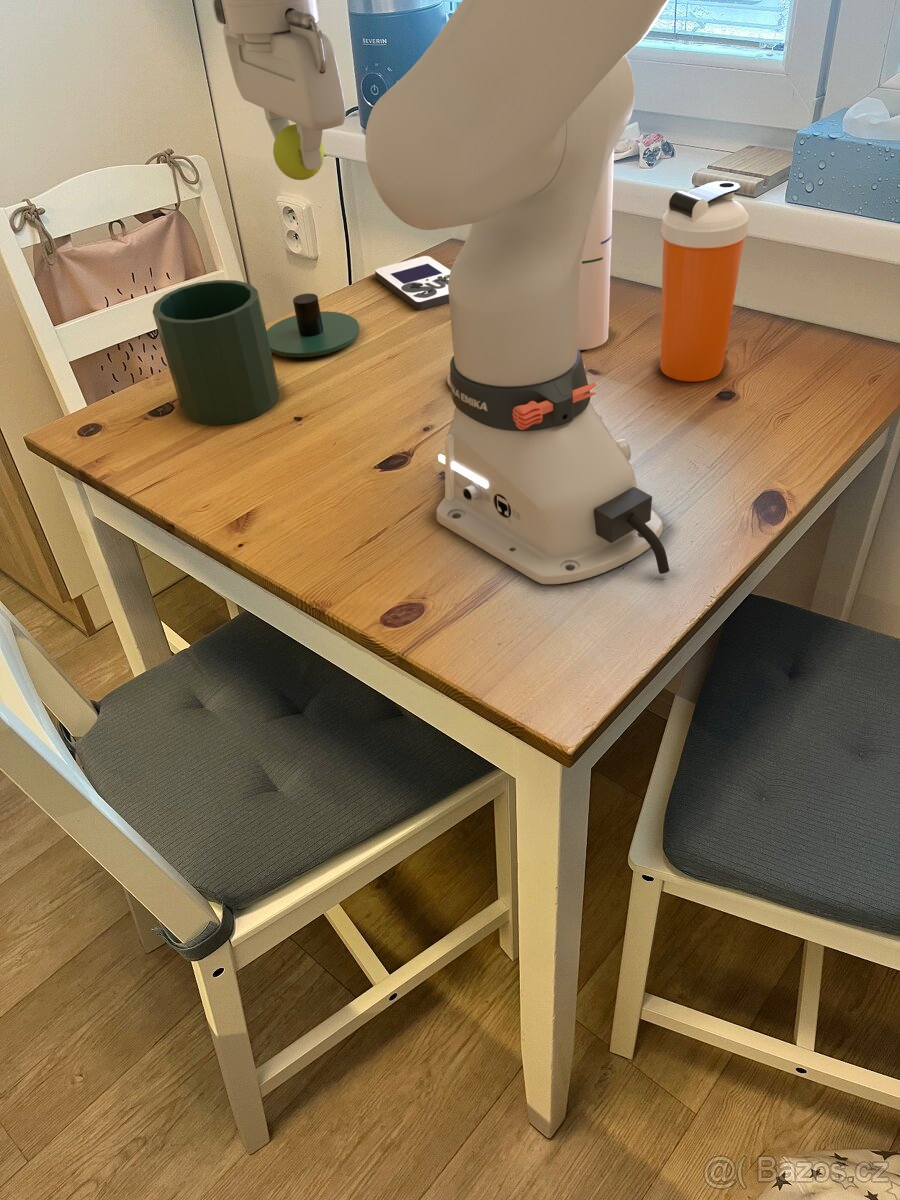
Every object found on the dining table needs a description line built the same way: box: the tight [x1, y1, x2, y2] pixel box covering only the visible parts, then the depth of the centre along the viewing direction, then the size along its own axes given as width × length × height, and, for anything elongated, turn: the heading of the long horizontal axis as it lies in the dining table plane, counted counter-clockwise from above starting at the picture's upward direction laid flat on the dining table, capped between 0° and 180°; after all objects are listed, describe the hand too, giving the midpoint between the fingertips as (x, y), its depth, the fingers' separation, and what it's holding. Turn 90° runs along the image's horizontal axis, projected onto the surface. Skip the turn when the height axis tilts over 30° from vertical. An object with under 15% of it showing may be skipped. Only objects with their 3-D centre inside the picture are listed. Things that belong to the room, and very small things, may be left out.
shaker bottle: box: [660, 180, 750, 383], centre depth 103 cm, size 9×9×20 cm
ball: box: [272, 123, 325, 181], centre depth 96 cm, size 5×5×5 cm
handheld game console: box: [374, 255, 451, 311], centre depth 134 cm, size 9×15×1 cm, turn 27°
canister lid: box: [266, 293, 360, 358], centre depth 122 cm, size 13×13×6 cm
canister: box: [152, 279, 280, 426], centre depth 108 cm, size 12×12×12 cm
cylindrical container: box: [577, 148, 615, 351], centre depth 110 cm, size 7×7×25 cm
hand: (299, 161), depth 97 cm, fingers closed on ball, 5 cm apart
